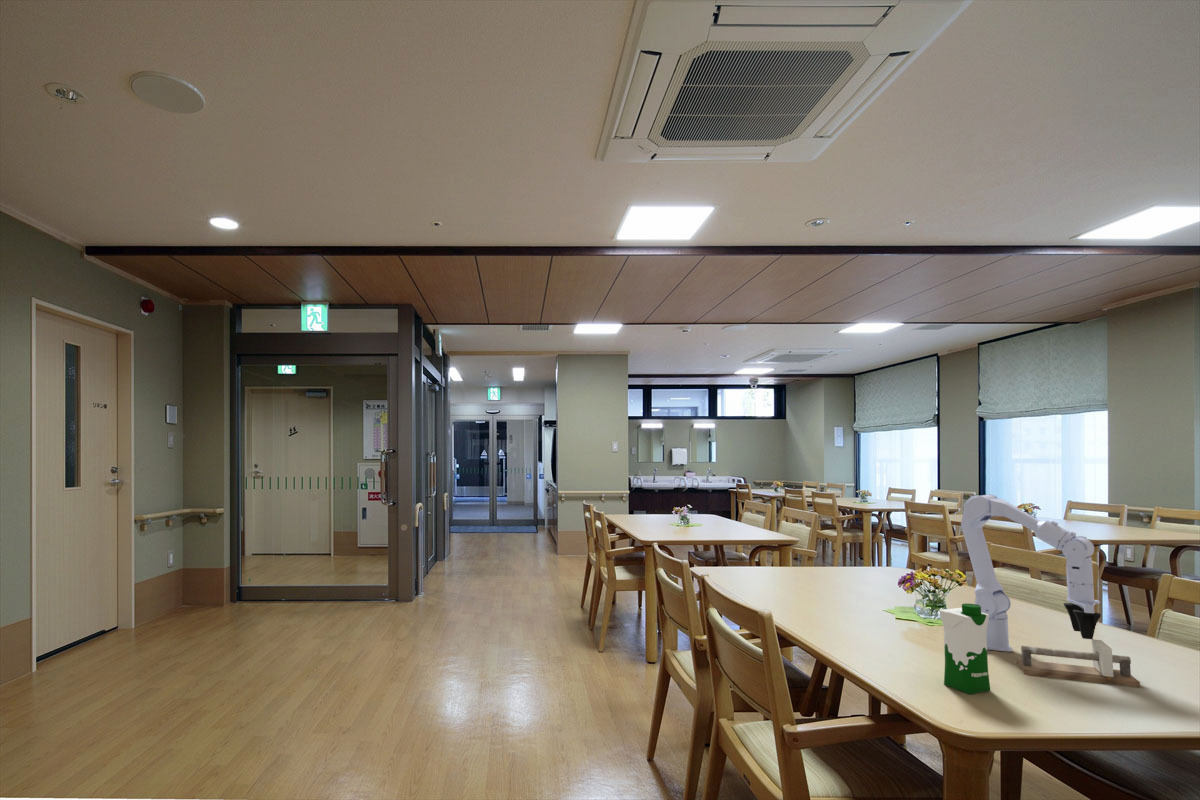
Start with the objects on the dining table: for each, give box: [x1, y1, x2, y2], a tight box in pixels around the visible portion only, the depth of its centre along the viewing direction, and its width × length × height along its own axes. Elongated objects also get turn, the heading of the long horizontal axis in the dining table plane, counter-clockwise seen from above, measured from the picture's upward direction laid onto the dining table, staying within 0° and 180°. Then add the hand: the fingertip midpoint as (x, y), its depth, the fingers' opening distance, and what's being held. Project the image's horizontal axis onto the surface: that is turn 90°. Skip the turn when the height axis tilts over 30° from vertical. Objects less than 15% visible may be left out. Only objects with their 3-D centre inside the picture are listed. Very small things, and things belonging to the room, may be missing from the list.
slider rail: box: [1016, 645, 1141, 688], centre depth 166 cm, size 24×9×6 cm, turn 67°
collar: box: [1091, 638, 1114, 677], centre depth 164 cm, size 2×8×7 cm, turn 157°
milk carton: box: [939, 603, 991, 695], centre depth 158 cm, size 9×9×20 cm
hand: (1082, 634), depth 173 cm, fingers open, 7 cm apart
